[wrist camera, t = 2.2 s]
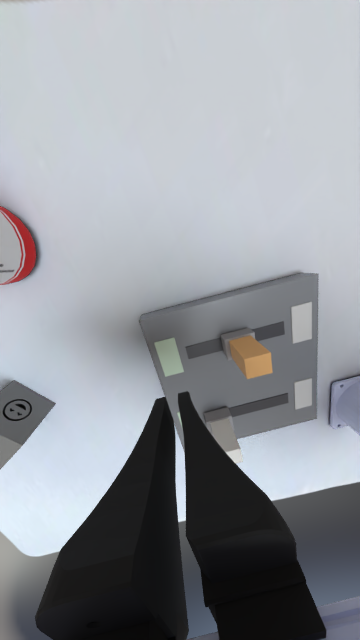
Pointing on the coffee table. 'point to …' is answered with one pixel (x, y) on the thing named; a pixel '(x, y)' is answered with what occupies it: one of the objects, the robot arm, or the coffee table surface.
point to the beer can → (15, 249)
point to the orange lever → (247, 353)
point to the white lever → (224, 432)
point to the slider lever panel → (225, 376)
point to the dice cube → (19, 417)
